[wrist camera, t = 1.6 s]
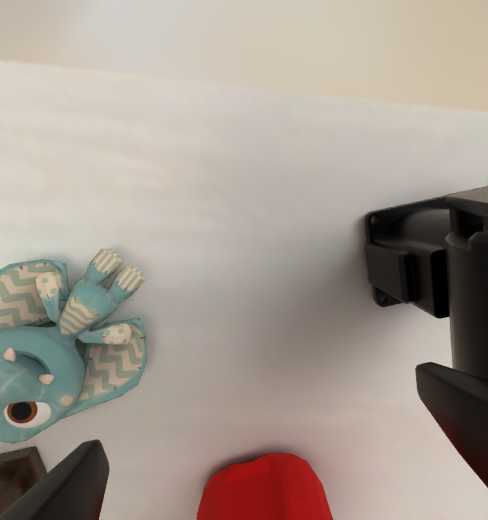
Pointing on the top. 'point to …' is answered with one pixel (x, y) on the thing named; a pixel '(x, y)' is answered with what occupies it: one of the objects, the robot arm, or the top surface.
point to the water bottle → (265, 491)
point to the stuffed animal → (64, 342)
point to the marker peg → (18, 475)
